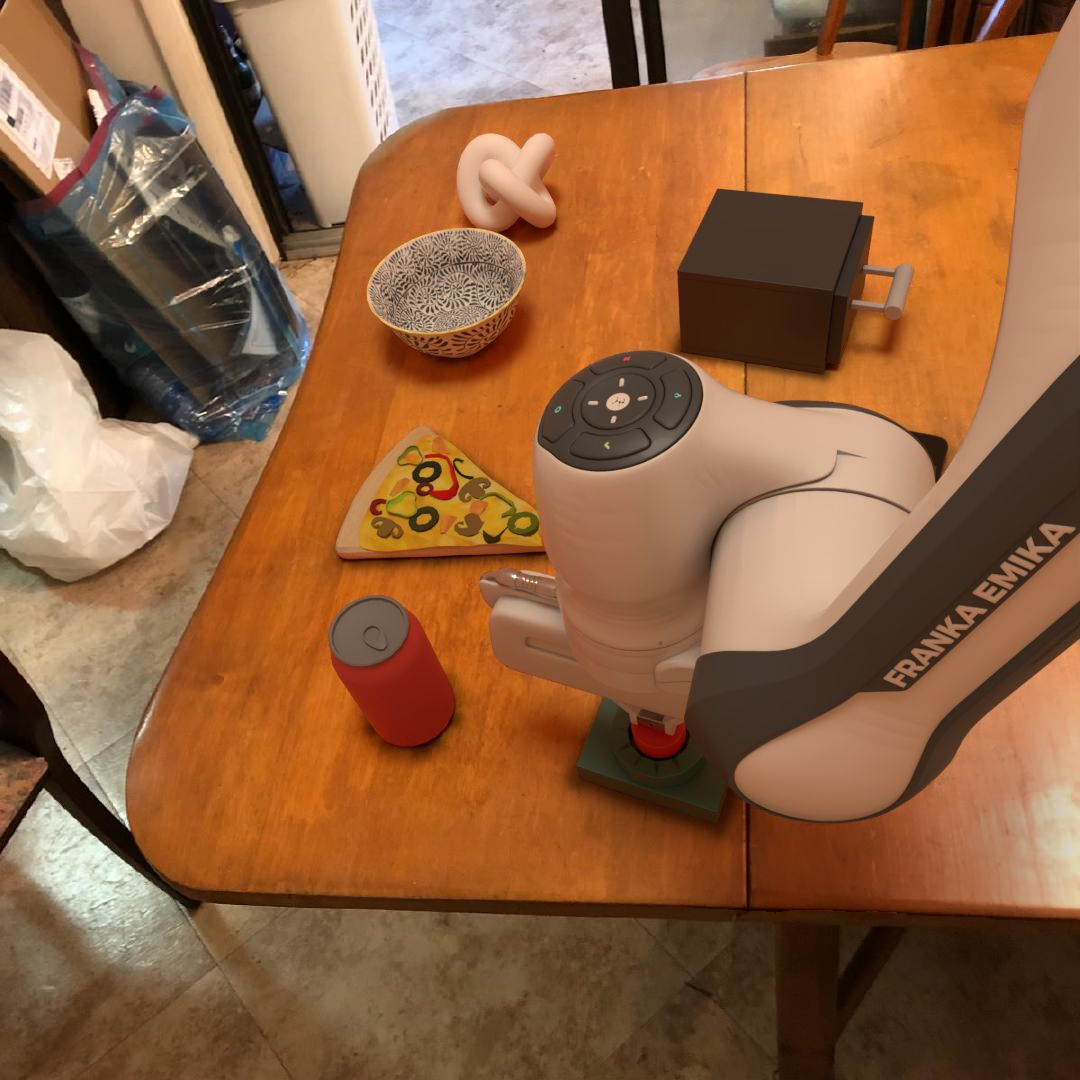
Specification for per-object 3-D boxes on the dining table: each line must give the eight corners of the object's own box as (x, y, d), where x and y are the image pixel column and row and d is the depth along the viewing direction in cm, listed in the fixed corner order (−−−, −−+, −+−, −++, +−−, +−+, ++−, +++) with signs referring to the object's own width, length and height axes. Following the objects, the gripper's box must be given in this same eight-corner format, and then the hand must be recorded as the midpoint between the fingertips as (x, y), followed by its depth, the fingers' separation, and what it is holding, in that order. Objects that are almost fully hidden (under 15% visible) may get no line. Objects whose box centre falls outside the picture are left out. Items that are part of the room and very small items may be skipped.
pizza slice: (412, 431, 90) (404, 409, 88) (609, 484, 82) (606, 461, 80) (324, 555, 82) (313, 534, 80) (533, 625, 75) (527, 605, 72)
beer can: (403, 767, 69) (352, 691, 60) (357, 708, 73) (302, 628, 63) (473, 711, 71) (435, 628, 62) (425, 656, 75) (381, 571, 65)
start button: (693, 718, 64) (692, 707, 63) (676, 765, 62) (675, 754, 61) (642, 703, 65) (641, 692, 64) (625, 749, 64) (623, 738, 62)
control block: (744, 733, 67) (746, 707, 64) (716, 824, 63) (716, 802, 60) (612, 694, 70) (607, 667, 67) (579, 778, 67) (572, 755, 63)
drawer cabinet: (852, 287, 93) (863, 202, 85) (823, 374, 86) (832, 290, 79) (717, 270, 97) (717, 188, 90) (680, 351, 91) (676, 270, 83)
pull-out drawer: (911, 291, 90) (925, 220, 84) (889, 372, 84) (902, 303, 78) (738, 269, 96) (739, 202, 89) (705, 344, 90) (704, 277, 84)
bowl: (569, 316, 97) (559, 255, 91) (467, 412, 91) (449, 353, 85) (457, 269, 104) (441, 210, 98) (356, 355, 98) (333, 298, 92)
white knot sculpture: (455, 252, 106) (436, 181, 99) (474, 189, 113) (458, 119, 106) (553, 248, 104) (540, 175, 97) (566, 184, 111) (556, 112, 104)
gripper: (450, 607, 53) (495, 716, 64) (816, 710, 46) (797, 812, 57) (495, 522, 56) (531, 639, 67) (844, 606, 49) (821, 722, 60)
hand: (655, 719), depth 62 cm, fingers closed
